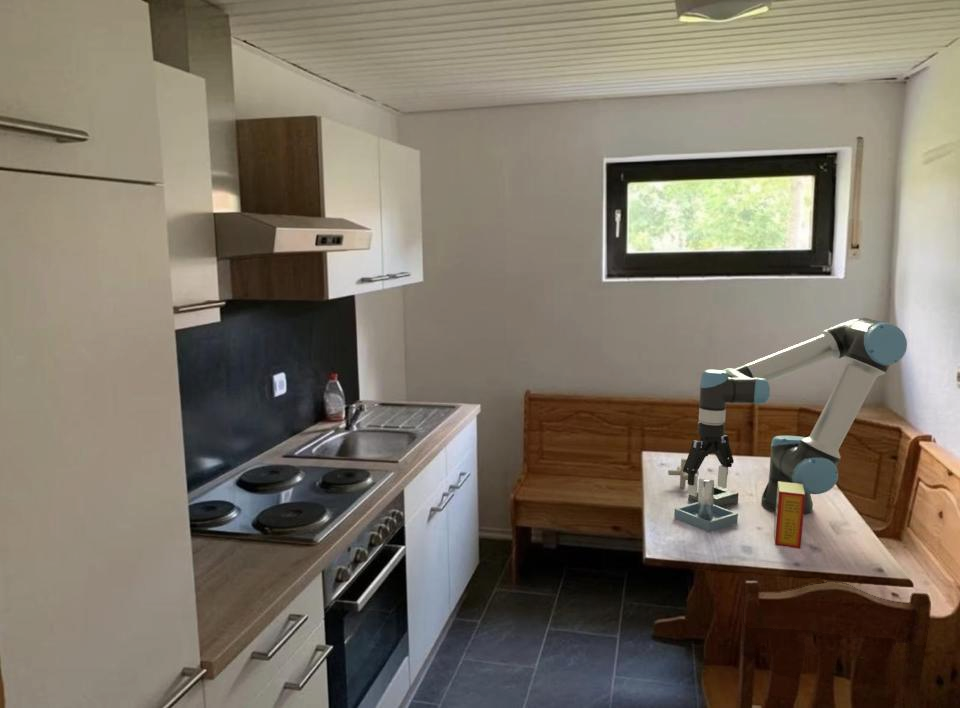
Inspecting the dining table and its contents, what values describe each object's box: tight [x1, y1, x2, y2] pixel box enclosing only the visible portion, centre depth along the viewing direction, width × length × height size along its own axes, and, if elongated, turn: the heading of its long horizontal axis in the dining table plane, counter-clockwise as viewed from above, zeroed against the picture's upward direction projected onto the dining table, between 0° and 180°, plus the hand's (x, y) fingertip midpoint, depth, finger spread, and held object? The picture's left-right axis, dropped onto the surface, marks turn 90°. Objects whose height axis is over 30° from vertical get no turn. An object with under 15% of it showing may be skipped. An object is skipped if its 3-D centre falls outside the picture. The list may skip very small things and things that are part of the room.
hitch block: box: [687, 484, 740, 508], centre depth 236 cm, size 11×11×4 cm
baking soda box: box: [773, 481, 805, 550], centre depth 204 cm, size 10×6×16 cm
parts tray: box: [673, 502, 739, 534], centre depth 219 cm, size 13×13×3 cm
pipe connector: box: [667, 457, 700, 489], centre depth 249 cm, size 10×10×10 cm
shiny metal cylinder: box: [697, 477, 715, 521], centre depth 218 cm, size 4×4×12 cm
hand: (707, 491), depth 218 cm, fingers open, 13 cm apart
